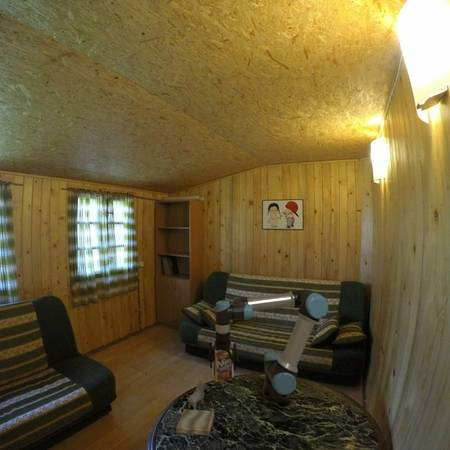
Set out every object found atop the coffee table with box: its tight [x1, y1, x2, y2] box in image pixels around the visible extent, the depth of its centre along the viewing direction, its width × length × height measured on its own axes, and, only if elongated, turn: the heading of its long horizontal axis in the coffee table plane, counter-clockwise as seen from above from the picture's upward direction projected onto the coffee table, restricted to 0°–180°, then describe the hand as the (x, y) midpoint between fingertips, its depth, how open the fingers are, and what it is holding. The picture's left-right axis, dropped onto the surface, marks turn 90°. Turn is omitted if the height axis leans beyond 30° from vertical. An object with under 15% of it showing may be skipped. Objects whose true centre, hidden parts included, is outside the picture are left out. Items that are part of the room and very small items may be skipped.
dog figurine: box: [187, 381, 207, 410], centre depth 149 cm, size 5×13×11 cm, turn 147°
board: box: [175, 408, 215, 436], centre depth 134 cm, size 16×14×2 cm
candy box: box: [213, 347, 233, 383], centre depth 141 cm, size 9×4×15 cm, turn 103°
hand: (223, 375), depth 141 cm, fingers closed on candy box, 9 cm apart
